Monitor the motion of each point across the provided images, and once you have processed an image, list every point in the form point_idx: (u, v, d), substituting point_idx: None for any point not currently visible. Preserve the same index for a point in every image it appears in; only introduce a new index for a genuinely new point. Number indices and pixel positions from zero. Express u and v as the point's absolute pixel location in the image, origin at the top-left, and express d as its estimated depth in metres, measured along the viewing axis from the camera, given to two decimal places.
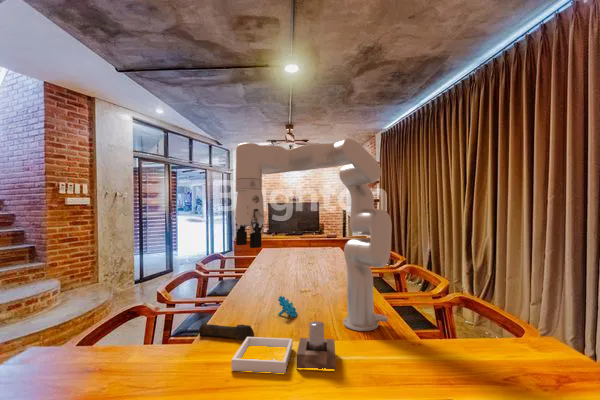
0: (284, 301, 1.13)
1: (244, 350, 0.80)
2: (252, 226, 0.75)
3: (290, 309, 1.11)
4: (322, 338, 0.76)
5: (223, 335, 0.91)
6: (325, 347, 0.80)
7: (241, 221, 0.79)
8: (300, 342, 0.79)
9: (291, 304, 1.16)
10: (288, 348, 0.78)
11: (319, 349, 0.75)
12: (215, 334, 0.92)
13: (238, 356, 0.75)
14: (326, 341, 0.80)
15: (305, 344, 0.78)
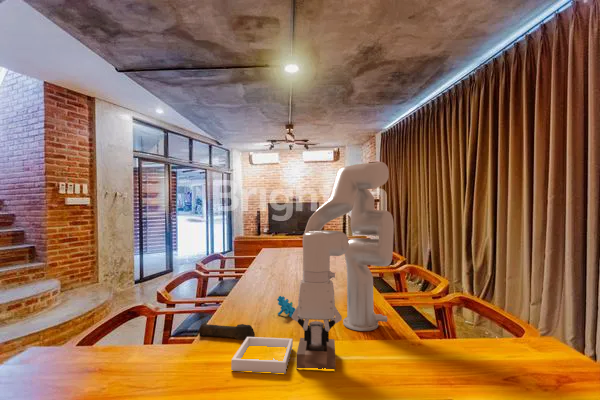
0: (283, 301, 1.13)
1: (244, 350, 0.80)
2: (328, 324, 0.76)
3: (289, 309, 1.11)
4: (322, 338, 0.76)
5: (223, 335, 0.91)
6: (325, 347, 0.80)
7: (316, 315, 0.75)
8: (300, 342, 0.79)
9: (291, 304, 1.16)
10: (288, 348, 0.78)
11: (319, 349, 0.75)
12: (215, 334, 0.92)
13: (238, 356, 0.75)
14: None
15: (305, 344, 0.78)
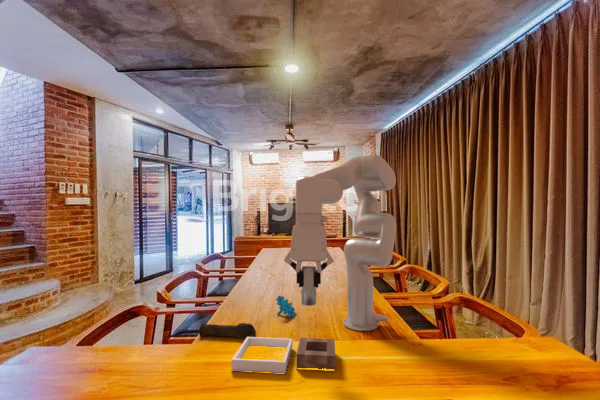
0: (282, 301, 1.13)
1: (244, 350, 0.80)
2: (321, 266, 0.77)
3: (288, 309, 1.12)
4: (314, 280, 0.77)
5: (224, 334, 0.92)
6: (325, 347, 0.80)
7: (308, 257, 0.77)
8: (300, 342, 0.79)
9: (290, 304, 1.16)
10: (288, 348, 0.78)
11: (311, 290, 0.76)
12: (216, 334, 0.92)
13: (238, 356, 0.75)
14: (326, 341, 0.80)
15: (305, 344, 0.78)
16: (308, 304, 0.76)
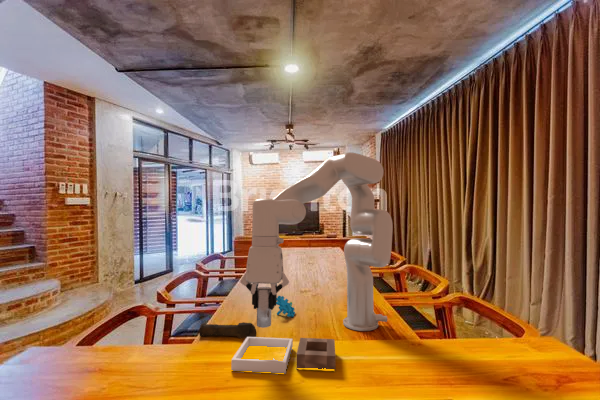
0: (282, 301, 1.14)
1: (244, 350, 0.80)
2: (275, 288, 0.77)
3: (287, 309, 1.12)
4: (269, 302, 0.77)
5: (225, 334, 0.92)
6: (325, 347, 0.80)
7: (263, 279, 0.77)
8: (300, 342, 0.79)
9: (290, 304, 1.16)
10: (288, 348, 0.78)
11: (265, 312, 0.77)
12: (216, 333, 0.92)
13: (238, 356, 0.75)
14: (326, 341, 0.80)
15: (305, 344, 0.78)
16: (262, 326, 0.76)
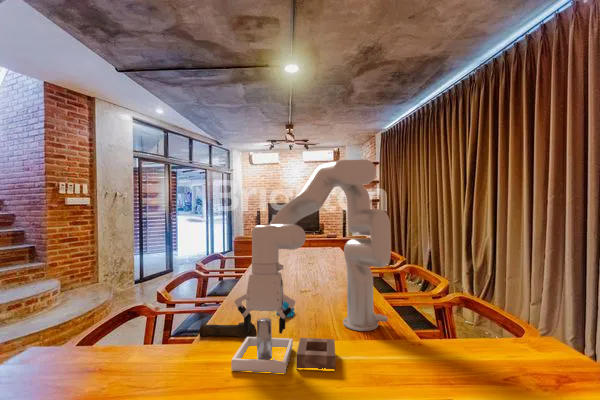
0: None
1: (244, 350, 0.80)
2: (282, 311, 0.77)
3: None
4: (269, 334, 0.77)
5: (225, 334, 0.92)
6: (325, 347, 0.80)
7: (263, 307, 0.77)
8: (300, 342, 0.79)
9: None
10: (288, 348, 0.78)
11: (266, 345, 0.76)
12: (216, 333, 0.92)
13: (238, 356, 0.75)
14: (326, 341, 0.80)
15: (305, 344, 0.78)
16: (262, 359, 0.76)
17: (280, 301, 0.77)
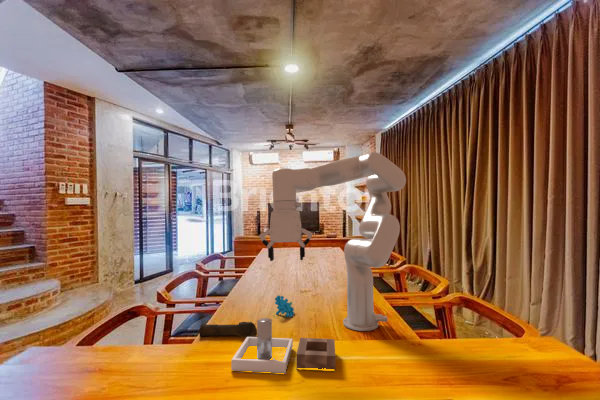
0: (281, 300, 1.14)
1: (244, 350, 0.80)
2: (302, 241, 0.89)
3: (286, 309, 1.12)
4: (269, 334, 0.77)
5: (225, 333, 0.92)
6: (325, 347, 0.80)
7: (285, 238, 0.88)
8: (300, 342, 0.79)
9: (289, 304, 1.16)
10: (288, 348, 0.78)
11: (266, 345, 0.76)
12: (216, 333, 0.92)
13: (238, 356, 0.75)
14: (326, 341, 0.80)
15: (305, 344, 0.78)
16: None
17: (300, 232, 0.88)
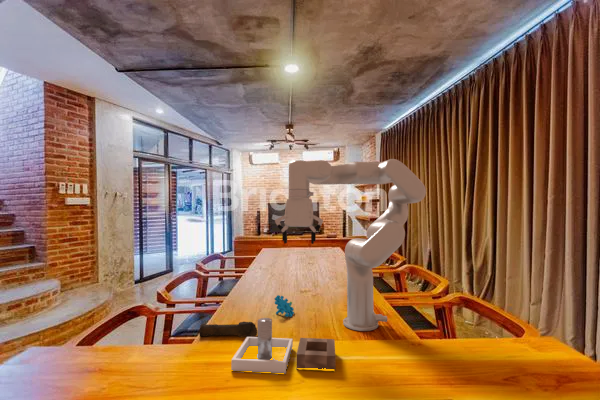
0: (281, 300, 1.14)
1: (244, 350, 0.80)
2: (313, 227, 0.98)
3: (286, 309, 1.12)
4: (269, 334, 0.77)
5: (225, 333, 0.92)
6: (325, 347, 0.80)
7: (298, 223, 0.98)
8: (300, 342, 0.79)
9: (289, 304, 1.16)
10: (288, 348, 0.78)
11: (266, 345, 0.76)
12: (217, 333, 0.92)
13: (238, 356, 0.75)
14: (326, 341, 0.80)
15: (305, 344, 0.78)
16: (262, 359, 0.76)
17: (312, 219, 0.98)
